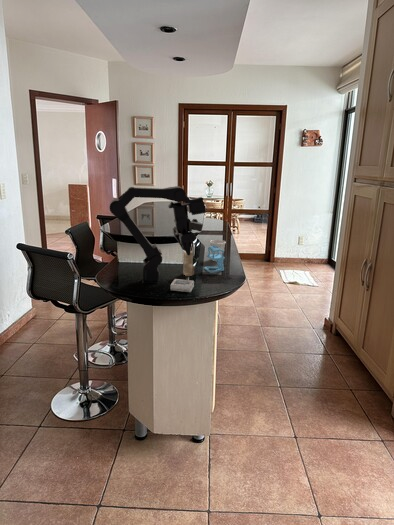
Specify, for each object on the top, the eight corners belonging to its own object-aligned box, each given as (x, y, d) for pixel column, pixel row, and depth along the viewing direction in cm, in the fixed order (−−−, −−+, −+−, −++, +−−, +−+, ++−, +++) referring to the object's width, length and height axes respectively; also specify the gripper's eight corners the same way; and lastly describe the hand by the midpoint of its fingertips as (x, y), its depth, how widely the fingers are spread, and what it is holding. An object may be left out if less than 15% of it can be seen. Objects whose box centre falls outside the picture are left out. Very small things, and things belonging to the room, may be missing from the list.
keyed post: (184, 276, 167) (185, 252, 164) (183, 273, 170) (183, 250, 167) (194, 275, 168) (195, 252, 165) (192, 273, 171) (193, 250, 168)
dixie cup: (218, 263, 189) (219, 244, 186) (205, 259, 193) (206, 241, 190) (227, 259, 195) (228, 241, 192) (214, 256, 200) (215, 238, 197)
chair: (226, 272, 175) (227, 247, 172) (210, 273, 172) (211, 248, 168) (219, 267, 182) (220, 243, 178) (203, 268, 179) (205, 244, 175)
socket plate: (170, 290, 149) (170, 284, 149) (174, 284, 156) (174, 278, 155) (190, 292, 148) (190, 286, 147) (193, 286, 155) (194, 280, 154)
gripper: (205, 217, 147) (210, 254, 152) (194, 210, 164) (198, 243, 169) (178, 222, 145) (184, 259, 149) (170, 214, 162) (175, 248, 167)
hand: (186, 252), depth 159 cm, fingers open, 9 cm apart
